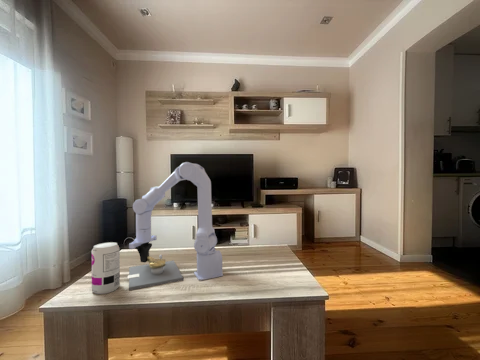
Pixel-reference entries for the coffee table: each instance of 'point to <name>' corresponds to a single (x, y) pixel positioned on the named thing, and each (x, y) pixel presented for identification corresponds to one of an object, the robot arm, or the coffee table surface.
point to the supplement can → (105, 267)
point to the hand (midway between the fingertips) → (143, 261)
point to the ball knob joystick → (155, 262)
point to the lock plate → (153, 275)
